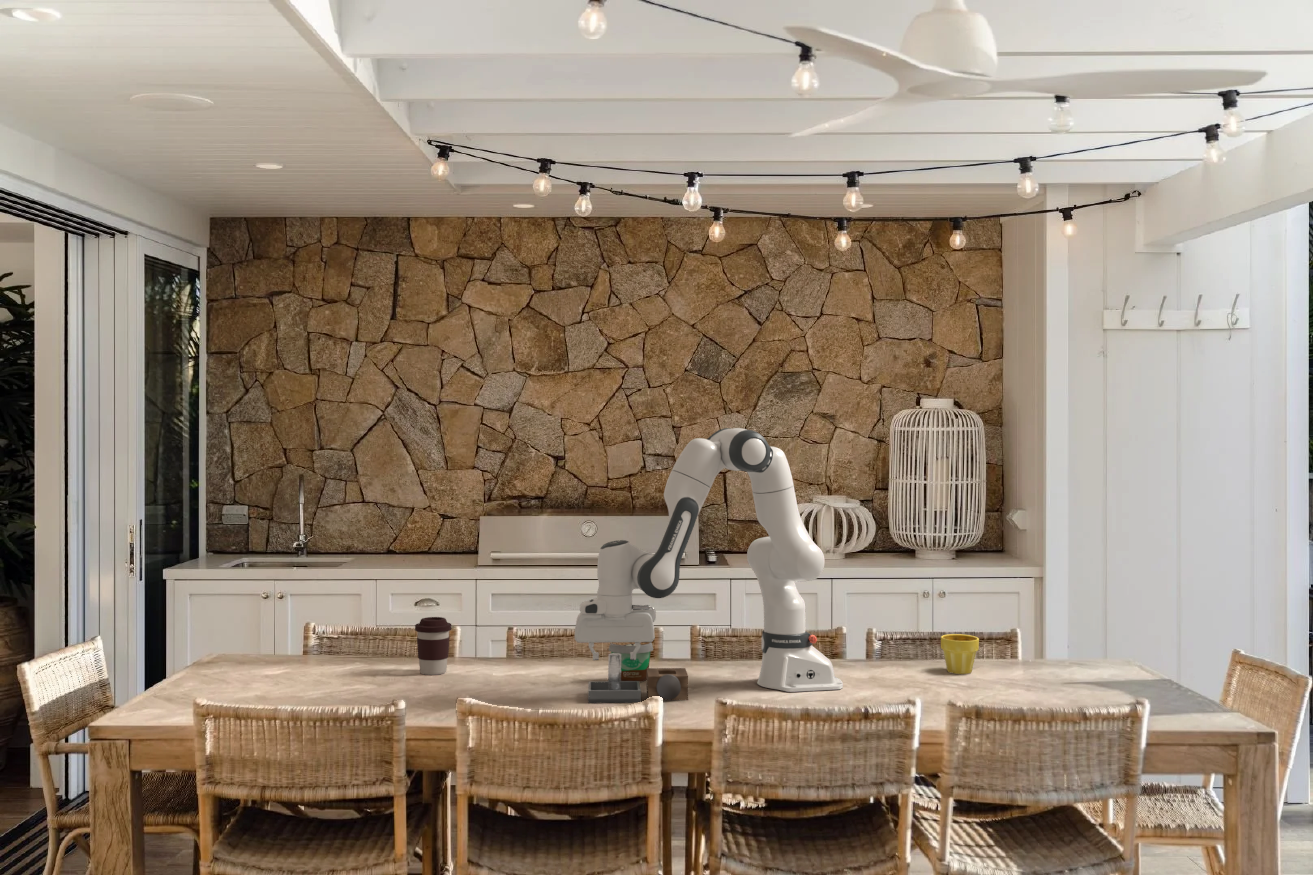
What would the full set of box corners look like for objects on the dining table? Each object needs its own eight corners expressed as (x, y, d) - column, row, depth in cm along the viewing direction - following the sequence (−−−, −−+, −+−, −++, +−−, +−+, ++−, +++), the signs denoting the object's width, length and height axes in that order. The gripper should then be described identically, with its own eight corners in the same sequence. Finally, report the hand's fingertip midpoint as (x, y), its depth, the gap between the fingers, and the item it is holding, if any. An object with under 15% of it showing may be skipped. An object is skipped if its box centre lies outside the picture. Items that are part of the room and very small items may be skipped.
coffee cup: (455, 669, 337) (455, 616, 337) (445, 676, 328) (445, 621, 327) (420, 668, 338) (421, 615, 338) (410, 675, 328) (410, 621, 328)
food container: (613, 684, 319) (613, 646, 319) (608, 679, 325) (608, 642, 325) (658, 681, 323) (658, 644, 322) (652, 677, 328) (652, 640, 328)
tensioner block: (685, 691, 312) (685, 666, 312) (688, 701, 300) (688, 675, 300) (646, 691, 311) (646, 666, 311) (648, 701, 299) (648, 675, 299)
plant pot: (969, 677, 331) (970, 641, 330) (934, 672, 337) (934, 637, 337) (984, 671, 339) (984, 636, 339) (949, 666, 345) (949, 632, 345)
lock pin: (620, 692, 305) (621, 653, 305) (620, 695, 302) (621, 655, 302) (607, 692, 305) (608, 653, 305) (608, 695, 302) (608, 655, 302)
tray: (639, 692, 309) (639, 681, 309) (640, 702, 298) (640, 690, 298) (588, 693, 309) (588, 681, 309) (588, 702, 298) (588, 690, 298)
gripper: (655, 603, 307) (654, 657, 307) (574, 603, 306) (574, 657, 306) (656, 606, 301) (656, 661, 301) (574, 607, 300) (574, 662, 300)
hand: (614, 659), depth 304 cm, fingers open, 8 cm apart
